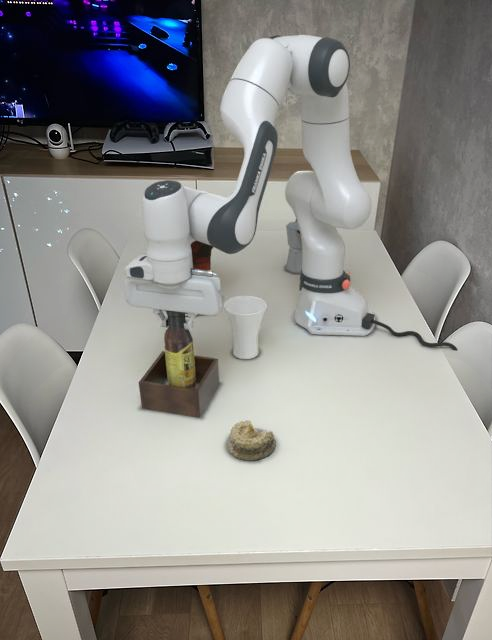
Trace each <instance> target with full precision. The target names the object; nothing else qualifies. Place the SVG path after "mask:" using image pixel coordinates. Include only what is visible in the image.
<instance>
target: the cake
mask: <svg viewBox="0 0 492 640" xmlns="http://www.w3.org/2000/svg"><path fill="white" fill-rule="evenodd" d="M228 438H229V439H228V441H227V446H226V447H227V450H228V452H229V453H230V455H232V456H233V457H234V458H236V459H239V460H243V461H248V462H249V461H258V460H262V459H264V458H266V457H268V456H270V455H271V454H272V453H273V451H275V449H276V445H277V442H276V438H275V435H274V432H273V431H272V430H270V429H269V430H268V431H267V430H265V429H261V428H255V427H254V425H253V423H252V421H251V420H248V419H246V420H240V421H239V422H236V423H235V424H234V425H233V426H232V427H231V429H230V433H229V435H228Z"/></svg>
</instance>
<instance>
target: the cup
mask: <svg viewBox="0 0 492 640" xmlns="http://www.w3.org/2000/svg"><path fill="white" fill-rule="evenodd" d="M267 306H268V305H267V302H266V301H265V300H264V299H263V298H261V297H259V296H258V297H257V296H253V295H237V296H232V297H230V298H228V299H227V300H225V302H223V306H222V307H223V309H224V311H225V314H226V317H227V319H228V323H229V325H230V329H231V333H232V340H233V347H232V354H233V356H234V357H236V358H238V359H240V360H250V359H254V358H256V357H257V356H258V355H259V354H260V353H259V333H260V328H261V324H262V321H263V318H264V315H265V313H266V309H267Z"/></svg>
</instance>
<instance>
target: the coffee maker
mask: <svg viewBox="0 0 492 640" xmlns="http://www.w3.org/2000/svg"><path fill="white" fill-rule="evenodd" d="M285 230H286V239H287V245H288V247H289V248H288V253H287V259H286V264H285V271H287V272H288V273H291V274H298V275H300V271H301V269H302V239H301V234H300V230H299V226H298V223H297V219H296V218H295V220H294V221H290V222H288V223H287V224H285Z"/></svg>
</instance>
